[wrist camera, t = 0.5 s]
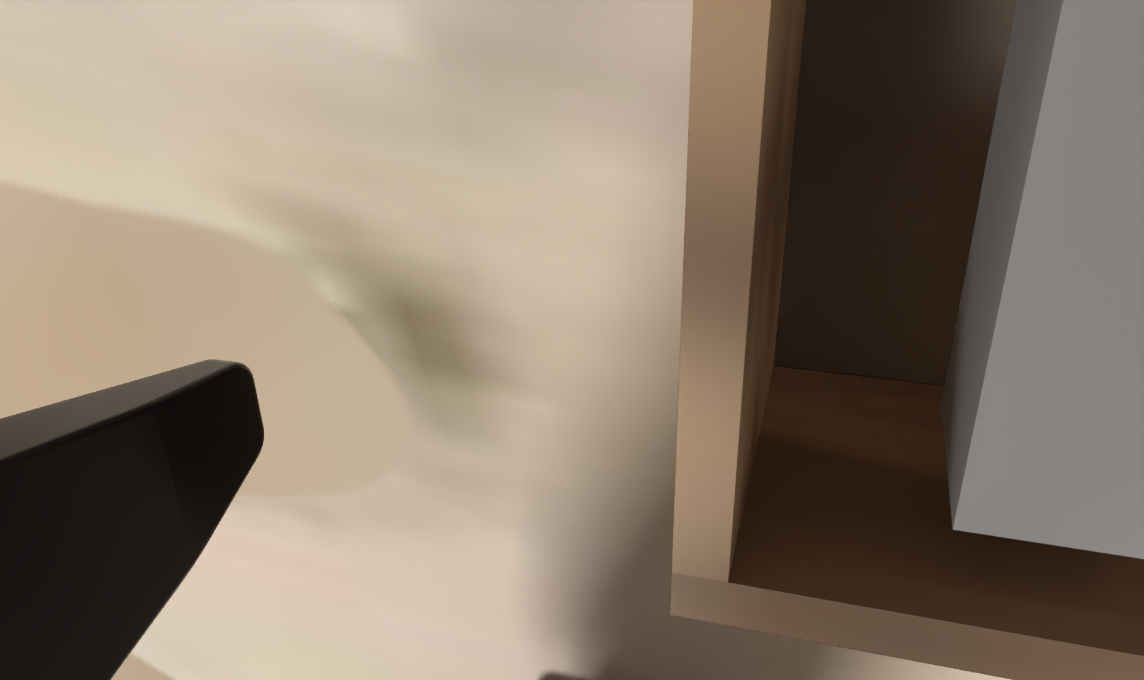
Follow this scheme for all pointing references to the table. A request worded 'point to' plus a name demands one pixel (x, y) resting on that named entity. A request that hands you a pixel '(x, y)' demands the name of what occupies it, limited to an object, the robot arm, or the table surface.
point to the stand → (836, 436)
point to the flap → (1056, 292)
